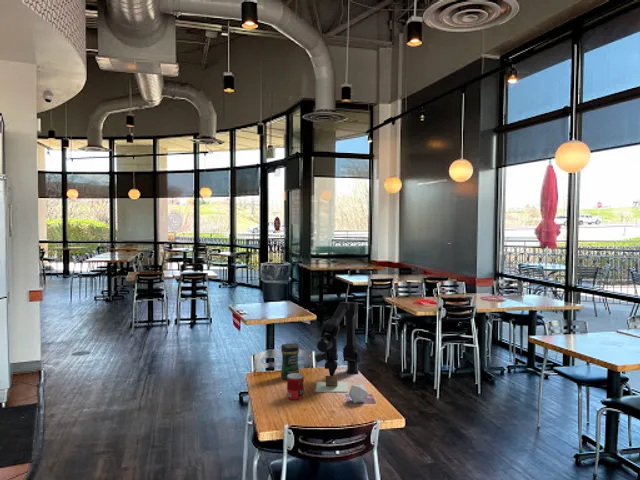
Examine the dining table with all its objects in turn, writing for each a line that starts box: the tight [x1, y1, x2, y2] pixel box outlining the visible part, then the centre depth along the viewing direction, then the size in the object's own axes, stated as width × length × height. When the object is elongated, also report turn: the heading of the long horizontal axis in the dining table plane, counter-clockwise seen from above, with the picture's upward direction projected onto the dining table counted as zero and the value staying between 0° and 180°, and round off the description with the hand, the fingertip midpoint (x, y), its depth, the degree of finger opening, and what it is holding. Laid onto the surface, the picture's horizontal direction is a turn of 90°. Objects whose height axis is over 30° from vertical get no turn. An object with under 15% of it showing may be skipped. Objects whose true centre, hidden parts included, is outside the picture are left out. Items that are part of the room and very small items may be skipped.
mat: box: [314, 381, 349, 393], centre depth 240 cm, size 14×16×1 cm
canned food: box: [286, 372, 305, 402], centre depth 225 cm, size 8×8×11 cm
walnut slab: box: [324, 375, 339, 386], centre depth 239 cm, size 2×6×6 cm
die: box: [348, 383, 369, 404], centre depth 220 cm, size 8×9×10 cm
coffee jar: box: [280, 342, 300, 380], centre depth 256 cm, size 10×8×19 cm
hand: (331, 377), depth 240 cm, fingers closed
